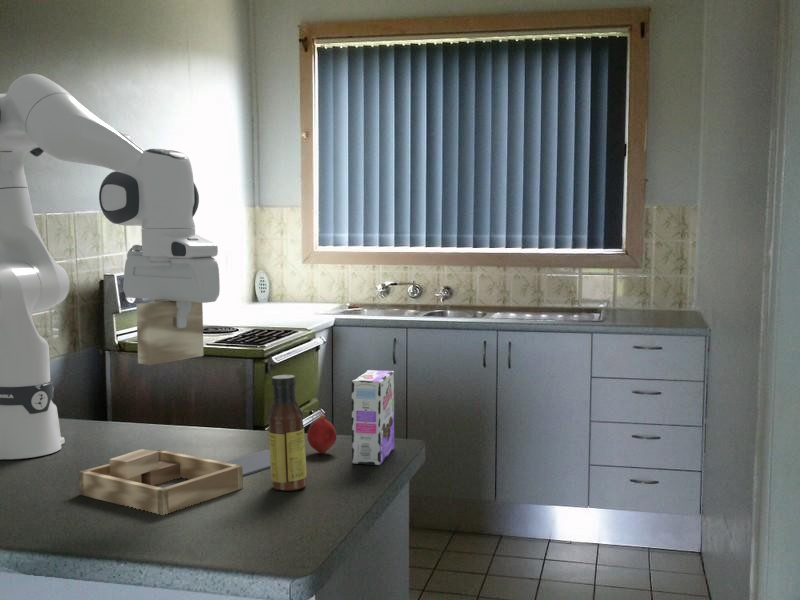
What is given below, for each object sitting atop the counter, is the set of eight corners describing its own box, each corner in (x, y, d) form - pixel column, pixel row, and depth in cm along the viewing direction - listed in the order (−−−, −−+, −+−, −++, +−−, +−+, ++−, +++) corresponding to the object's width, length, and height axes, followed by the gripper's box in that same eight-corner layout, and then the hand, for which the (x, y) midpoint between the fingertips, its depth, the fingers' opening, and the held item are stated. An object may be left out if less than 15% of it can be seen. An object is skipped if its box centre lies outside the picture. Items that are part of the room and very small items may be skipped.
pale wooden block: (138, 363, 160) (136, 303, 159) (191, 354, 170) (190, 298, 169) (150, 364, 159) (148, 304, 158) (203, 355, 168) (202, 299, 167)
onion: (309, 457, 190) (308, 418, 189) (306, 450, 196) (305, 412, 195) (338, 456, 191) (337, 416, 190) (334, 449, 197) (334, 410, 196)
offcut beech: (110, 476, 168) (109, 459, 167) (142, 465, 175) (141, 449, 174) (127, 478, 166) (127, 461, 165) (159, 467, 173) (158, 451, 172)
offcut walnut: (135, 484, 173) (135, 468, 172) (165, 475, 178) (165, 460, 178) (150, 488, 170) (150, 471, 170) (180, 479, 176) (180, 463, 176)
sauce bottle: (308, 482, 173) (306, 373, 171) (304, 492, 166) (303, 379, 165) (271, 482, 173) (270, 373, 171) (267, 492, 166) (265, 379, 165)
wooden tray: (79, 494, 166) (78, 471, 165) (161, 470, 181) (160, 449, 180) (163, 515, 154) (162, 491, 154) (242, 488, 169) (242, 465, 169)
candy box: (380, 466, 184) (380, 381, 182) (350, 464, 185) (350, 380, 183) (395, 448, 197) (395, 369, 196) (367, 447, 198) (367, 368, 197)
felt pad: (207, 469, 181) (207, 467, 181) (267, 451, 195) (267, 449, 195) (242, 476, 176) (242, 474, 176) (301, 457, 190) (301, 455, 190)
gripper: (113, 245, 166) (115, 324, 167) (197, 247, 154) (198, 332, 156) (142, 243, 171) (144, 321, 172) (225, 246, 159) (226, 328, 161)
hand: (170, 326), depth 164 cm, fingers closed on pale wooden block, 3 cm apart
